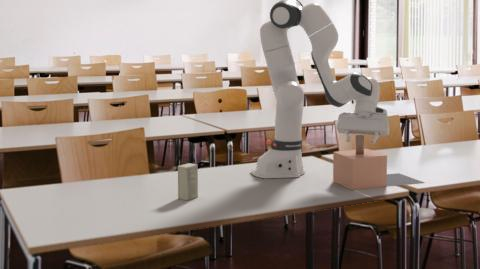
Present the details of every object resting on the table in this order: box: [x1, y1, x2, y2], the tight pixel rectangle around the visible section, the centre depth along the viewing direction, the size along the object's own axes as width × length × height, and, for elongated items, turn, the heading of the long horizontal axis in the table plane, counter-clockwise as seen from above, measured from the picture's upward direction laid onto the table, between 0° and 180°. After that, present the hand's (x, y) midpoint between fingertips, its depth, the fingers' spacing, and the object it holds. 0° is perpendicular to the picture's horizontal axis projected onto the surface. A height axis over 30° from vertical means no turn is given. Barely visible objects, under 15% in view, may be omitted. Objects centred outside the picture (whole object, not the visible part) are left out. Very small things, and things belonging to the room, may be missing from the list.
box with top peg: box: [332, 134, 388, 191], centre depth 265 cm, size 15×15×19 cm
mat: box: [385, 172, 425, 188], centre depth 273 cm, size 18×18×1 cm
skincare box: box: [177, 162, 199, 201], centre depth 244 cm, size 6×4×12 cm
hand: (360, 142), depth 263 cm, fingers open, 8 cm apart
